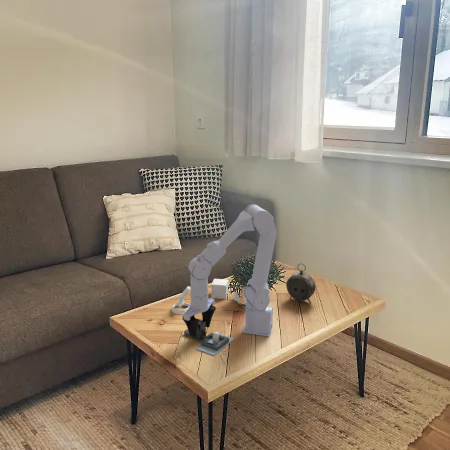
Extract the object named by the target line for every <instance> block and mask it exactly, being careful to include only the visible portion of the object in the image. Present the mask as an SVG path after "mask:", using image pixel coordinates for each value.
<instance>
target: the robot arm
mask: <svg viewBox="0 0 450 450" xmlns="http://www.w3.org/2000/svg"><path fill="white" fill-rule="evenodd" d="M255 229H256V231H257V232H258V233H259V240H258V244H257V249H256V254H255V261H254V264H253V269H252V270H253V274H252V278H251V279H249V280H248V283H247V286H246V287H245V289H244V291H243V295H244V297H245V298H246V304H245V317H244V321H245V324H244V325H243V329H242V332H241V333H242V334H247V335H254V336H255V335H256V336H262V337H270V336H271V333H272V329H273V326H274V325H273V321H274V320H273V319H274V317H273V316H274V314H273V313H274V308H273V307H271V306H269V305H270V302H271V299H270V289H269V288H270V287H269V284H268V281H269V280H268V279H269V274H270V270H271V265H272V259H273V256H274V254H273V253H274V250H275V245H276V240H277V239H276V238H277V235H278V231H277V228H276V223H275V218H274V216H273V215H272V214H271V213H270V212H269V211H267V210H265V209H264V208H262V207H260V206H259V205H258V204H254V203H252V204H248V205H247V206H246V207H245V209H244V210H242V211H241V212H240V213H239V215H238V217H237V219H235V221H234V222H232V224H231V226H229V228H228V229H227V230H226V231H225V232H224V233H223V234H222V235H221V237H220V238H219V239H218V240H213V241H211V242H208V243H207V244H206V248H204V250H203V251H202V252H201V253H200V254H197V256H196V257H194V258H192V259H191V260H190V261H189V264H188V265H187V269H188V271H189V273H190V286H189V287H190V303H188V304H189V308H188V307H187V308H188V310H187V311H186V312H185V313H184V314H182V321H183V322H184V323H185V325H186V328H187V329H188V331H189V334H190V336H192V337H196V333H197V325H198V322H199V319H200V318H196V315H198V314H201V316H202V319H201V320H203V321H206V328H208V329H210V326H211V321H212V319H213V315H214V313H215V311H216V310H217V307H216V306H215V298H211V297H209V281H208V277H209V276H210V274H211V272H212V271H211V270H212V268H213V267H214V266H215V265H216V264H217V263H218V262H219V261H220V260H221V259H222V258H223V257H224V255H226V250H227V247H228V246H229V245H231V244H232V243H234V241H235V240H236V239H237V238H238V237H240V235H241V234H243V233H244V232H252V231H253V232H255ZM190 336H189V337H190Z"/></svg>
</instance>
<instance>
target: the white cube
mask: <svg viewBox="0 0 450 450" xmlns="http://www.w3.org/2000/svg"><path fill="white" fill-rule="evenodd" d="M229 283H230V282H229V279H227V278H226V279H225V278H214V279H213V281H212V283H211V285H210V287H211V288H210V289H211V293H210V296H211V297H210V298H212V299H219V300H220V299H222V300H226V299H227V298H228V295H227V294H229V289H228V287H229V285H230V284H229ZM226 297H227V298H226Z"/></svg>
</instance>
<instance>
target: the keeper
mask: <svg viewBox="0 0 450 450" xmlns="http://www.w3.org/2000/svg"><path fill="white" fill-rule="evenodd" d="M212 333H213V338H212V339H210V340H209V341H208V342H209V343H212V344H215V345H217V344H218V343H220V342H221V341H222V340H219V335H222V336H225V337H228V338H229V342H227V343H226V344H225V345H224V346H222V347H221V348H220V349H219V350H214V349H211V348H208V347H205V346H202V345H200V344H199V346H197V347H196V348H195V349H196V350H197V351H201V352H202V353H206V354H208V355H211V356H216V355H217V354H218V353H220V352H221V351H222V350H224V348H226V347H227V346H229V344H231V343H232V342H233V341H235V338H234V337H230V336H227V335H224V334H221V333H219V331H213V332H212Z"/></svg>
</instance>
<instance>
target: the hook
mask: <svg viewBox="0 0 450 450" xmlns="http://www.w3.org/2000/svg"><path fill="white" fill-rule="evenodd" d="M189 293H191V290H190V286H189V285H188V286H186V288H185V289H184V290H183V291H182V293H181V294H180V295H179V296H178V298H177V302H175V303H174V304H173V305H172V307H171V310H170V311H171V312H172V313H173V314H176V315H183V314H184V313H185V312H186V311H187V310H188V308H189V303H188V302H185V301H184V299H185V298H186V297H187V295H188V294H189ZM182 306H184V307H187V308H183V309H182V308H181V309H179V308H180V307H182ZM176 307H177V308H176Z"/></svg>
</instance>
